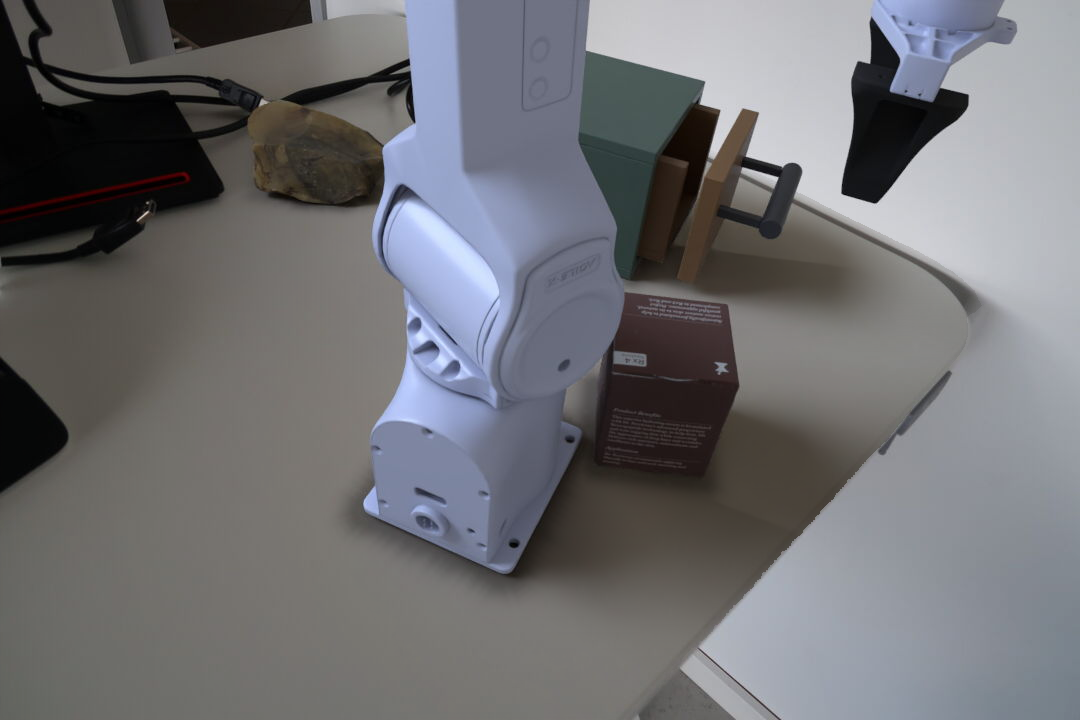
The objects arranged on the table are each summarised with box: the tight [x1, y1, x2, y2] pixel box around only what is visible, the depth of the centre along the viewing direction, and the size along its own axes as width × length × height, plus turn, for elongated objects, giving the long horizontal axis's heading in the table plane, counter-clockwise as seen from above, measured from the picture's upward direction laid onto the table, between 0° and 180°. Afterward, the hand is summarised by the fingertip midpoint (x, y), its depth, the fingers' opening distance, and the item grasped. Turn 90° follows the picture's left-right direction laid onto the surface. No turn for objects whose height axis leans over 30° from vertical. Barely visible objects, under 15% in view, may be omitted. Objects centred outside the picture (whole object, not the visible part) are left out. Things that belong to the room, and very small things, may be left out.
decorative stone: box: [246, 98, 385, 205], centre depth 55 cm, size 10×9×4 cm
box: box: [593, 291, 741, 478], centre depth 38 cm, size 6×6×7 cm
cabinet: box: [578, 50, 706, 280], centre depth 52 cm, size 14×12×10 cm
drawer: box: [637, 103, 803, 285], centre depth 51 cm, size 17×10×8 cm, turn 66°
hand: (866, 166), depth 45 cm, fingers open, 7 cm apart
